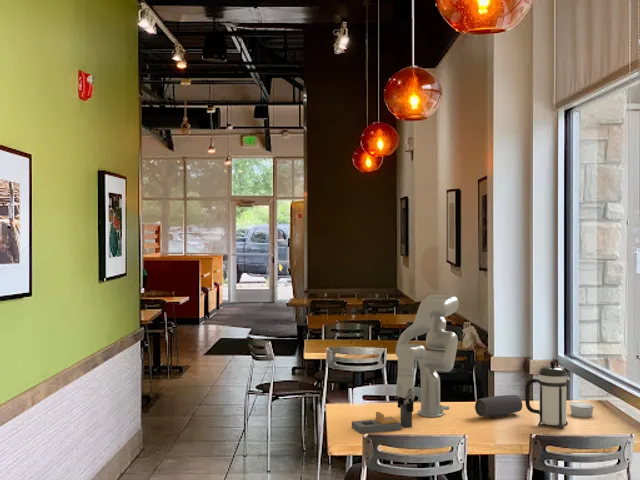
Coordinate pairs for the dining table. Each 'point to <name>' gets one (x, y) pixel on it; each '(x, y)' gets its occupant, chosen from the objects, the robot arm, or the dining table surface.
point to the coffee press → (550, 395)
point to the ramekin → (581, 409)
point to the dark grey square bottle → (405, 415)
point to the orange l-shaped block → (384, 419)
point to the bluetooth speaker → (498, 405)
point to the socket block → (374, 426)
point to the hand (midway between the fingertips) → (405, 409)
